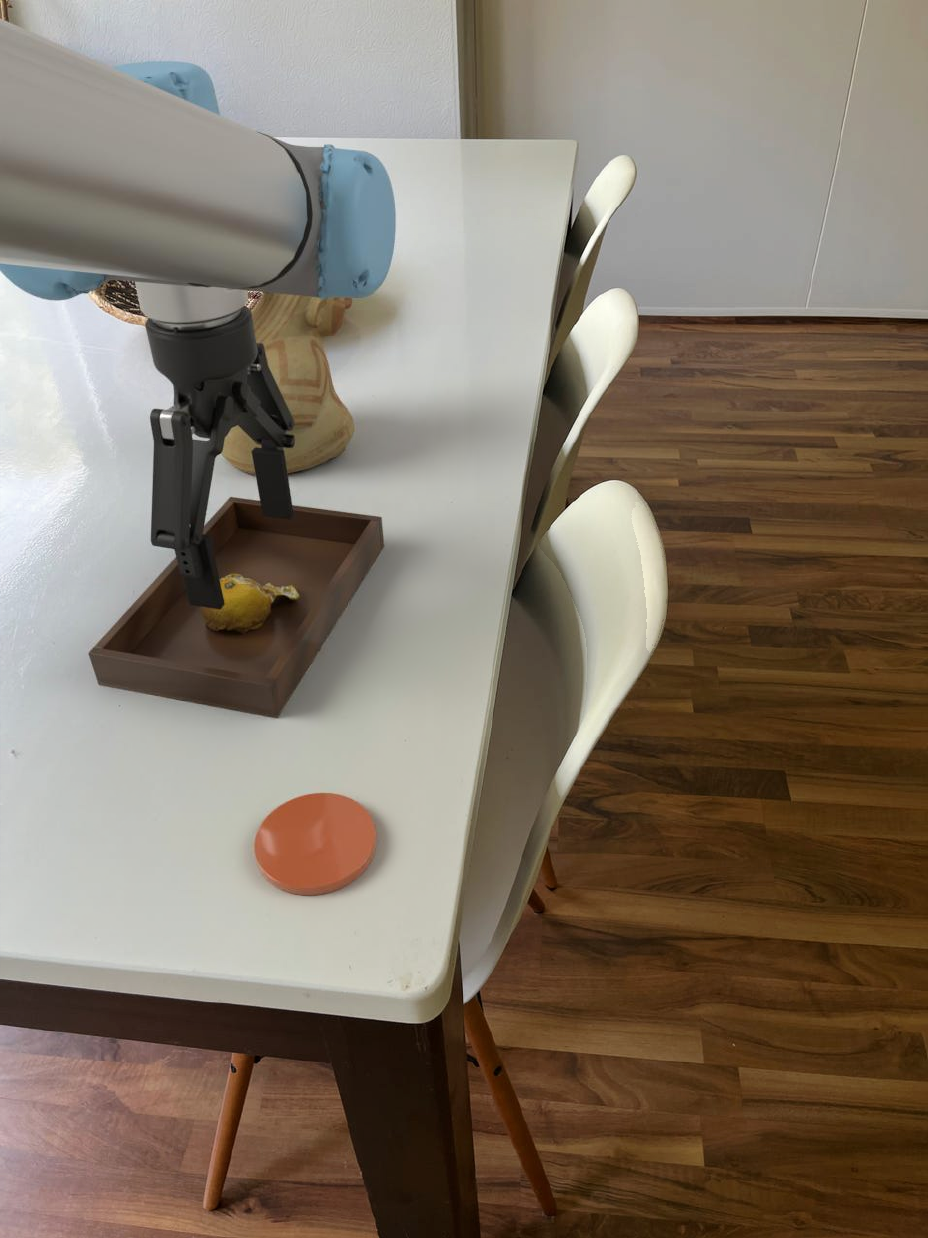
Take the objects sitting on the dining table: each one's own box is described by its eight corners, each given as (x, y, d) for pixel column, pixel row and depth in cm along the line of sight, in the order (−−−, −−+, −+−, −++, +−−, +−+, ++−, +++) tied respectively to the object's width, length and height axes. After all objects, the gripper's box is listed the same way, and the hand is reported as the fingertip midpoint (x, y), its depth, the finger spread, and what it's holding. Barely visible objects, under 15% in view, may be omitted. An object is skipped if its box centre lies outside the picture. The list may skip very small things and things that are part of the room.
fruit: (308, 592, 88) (303, 557, 86) (263, 648, 82) (257, 612, 79) (226, 576, 90) (219, 542, 88) (177, 629, 84) (168, 594, 82)
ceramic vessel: (389, 463, 107) (371, 224, 92) (210, 505, 101) (159, 256, 86) (340, 402, 119) (317, 183, 104) (177, 436, 113) (127, 208, 98)
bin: (277, 718, 75) (271, 685, 73) (98, 684, 79) (87, 652, 77) (384, 546, 94) (381, 516, 92) (235, 525, 98) (230, 496, 96)
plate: (351, 907, 62) (350, 899, 61) (234, 881, 63) (232, 872, 63) (393, 812, 68) (392, 805, 67) (285, 790, 70) (284, 783, 69)
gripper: (155, 389, 60) (217, 656, 73) (313, 258, 79) (340, 489, 92) (48, 378, 62) (127, 640, 75) (228, 252, 81) (266, 479, 94)
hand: (245, 557), depth 83 cm, fingers open, 13 cm apart
